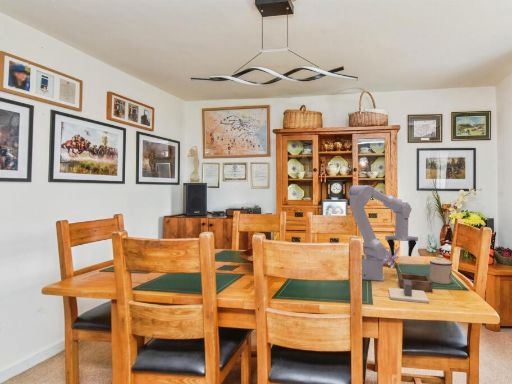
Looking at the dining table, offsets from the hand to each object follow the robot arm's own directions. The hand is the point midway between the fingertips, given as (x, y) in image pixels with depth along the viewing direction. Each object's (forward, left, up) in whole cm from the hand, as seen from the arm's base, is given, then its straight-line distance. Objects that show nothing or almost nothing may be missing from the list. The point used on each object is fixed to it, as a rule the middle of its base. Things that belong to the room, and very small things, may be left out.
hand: (401, 255), depth 170 cm
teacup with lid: (+16, -4, -10) cm, 19 cm away
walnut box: (+4, -19, -9) cm, 22 cm away
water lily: (-5, +21, -10) cm, 23 cm away
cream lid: (0, -34, -9) cm, 35 cm away
